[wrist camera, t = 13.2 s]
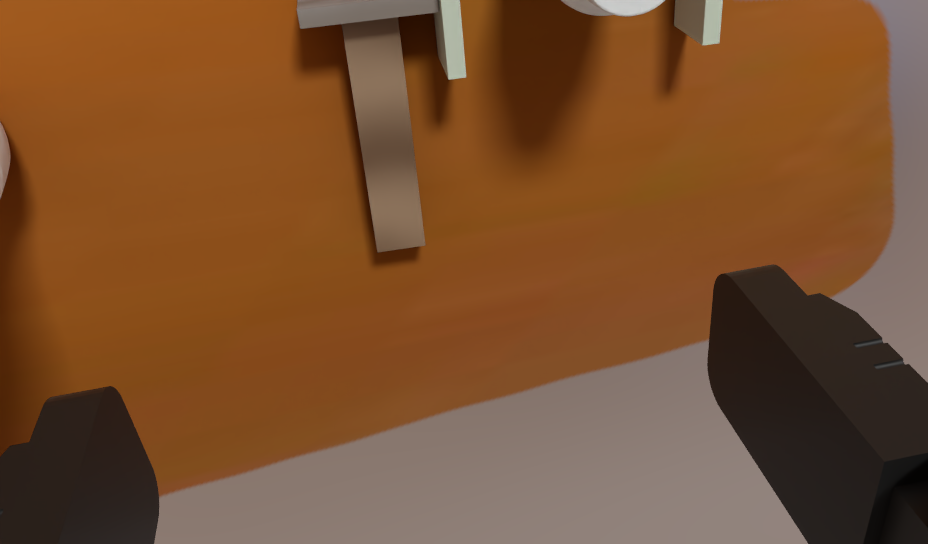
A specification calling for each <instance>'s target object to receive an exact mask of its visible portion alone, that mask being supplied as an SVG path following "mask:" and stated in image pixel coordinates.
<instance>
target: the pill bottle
mask: <svg viewBox="0 0 928 544" xmlns="http://www.w3.org/2000/svg"><path fill="white" fill-rule="evenodd" d="M561 1H562V2H563V3H565V4H566V5H568V6H569V7H571V8H573V9H575V10H577V11H579V12H582V13H585V14H589V15H595V16H609V15H617V16H635V15H640V14H644V13H646V12H649V11H651V10H653V9H654V8H656V7H657V6H659V5H660V4H661V3H663V2H664V1H665V0H561Z"/></svg>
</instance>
